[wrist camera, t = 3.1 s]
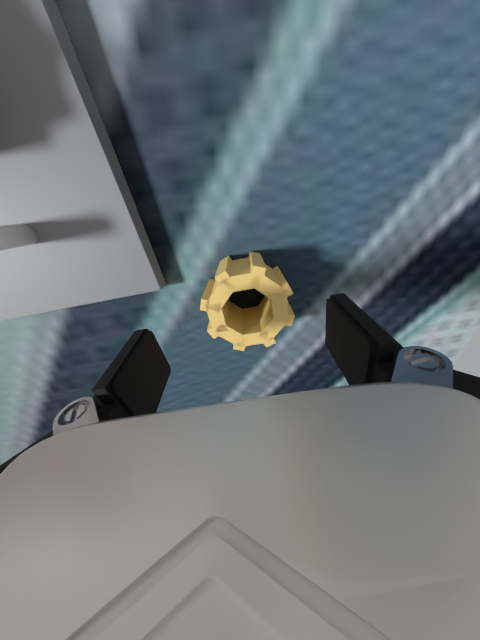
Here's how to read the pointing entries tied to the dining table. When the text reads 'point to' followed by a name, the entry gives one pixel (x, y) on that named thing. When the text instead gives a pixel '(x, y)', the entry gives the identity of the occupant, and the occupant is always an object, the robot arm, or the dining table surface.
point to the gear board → (60, 178)
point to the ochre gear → (252, 321)
